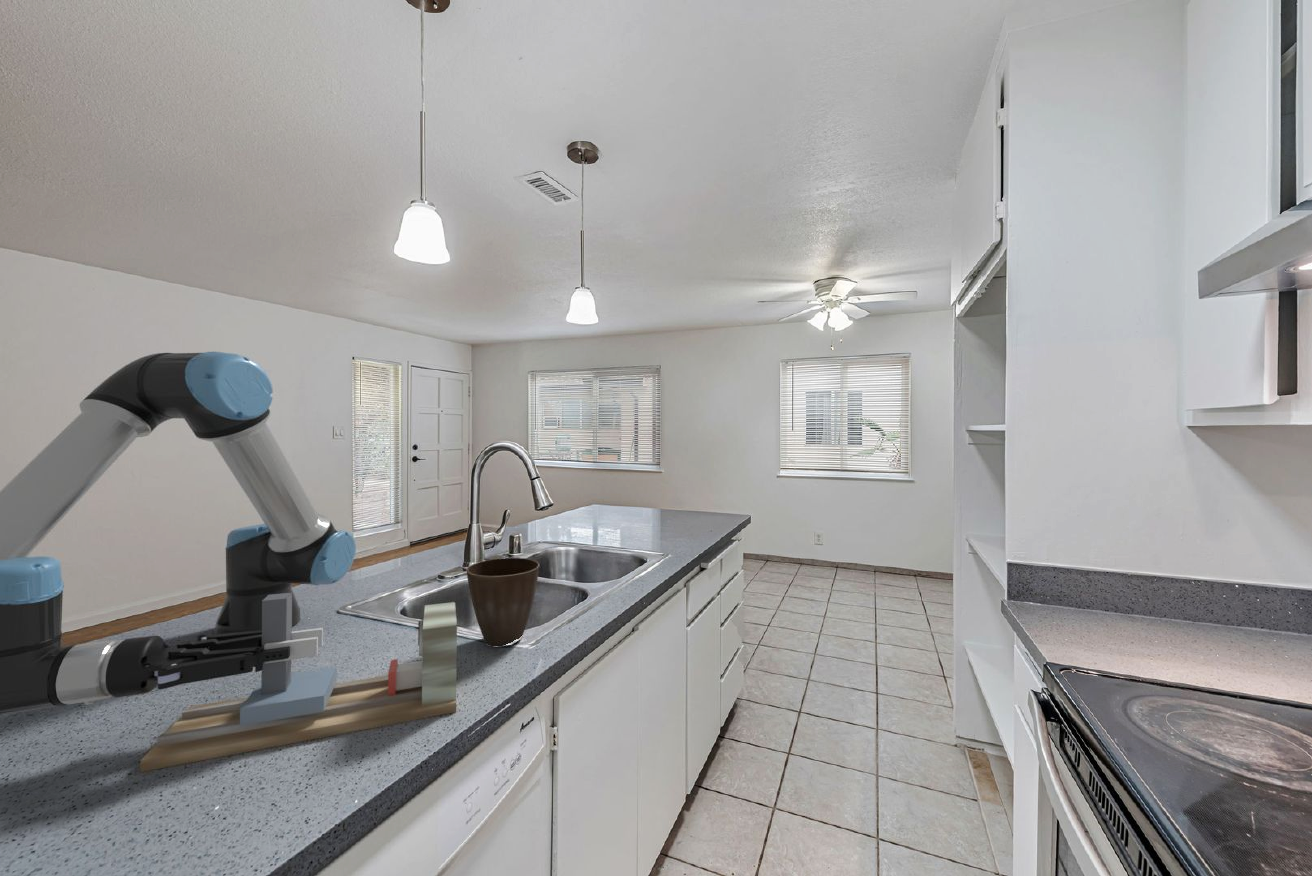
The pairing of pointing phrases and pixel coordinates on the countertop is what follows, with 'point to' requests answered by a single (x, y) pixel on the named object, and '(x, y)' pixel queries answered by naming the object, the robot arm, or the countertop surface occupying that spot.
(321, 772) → the countertop surface
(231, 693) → the countertop surface
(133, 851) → the countertop surface
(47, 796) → the countertop surface
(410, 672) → the button
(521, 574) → the plant pot
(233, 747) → the rail track
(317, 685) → the carriage
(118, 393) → the robot arm
